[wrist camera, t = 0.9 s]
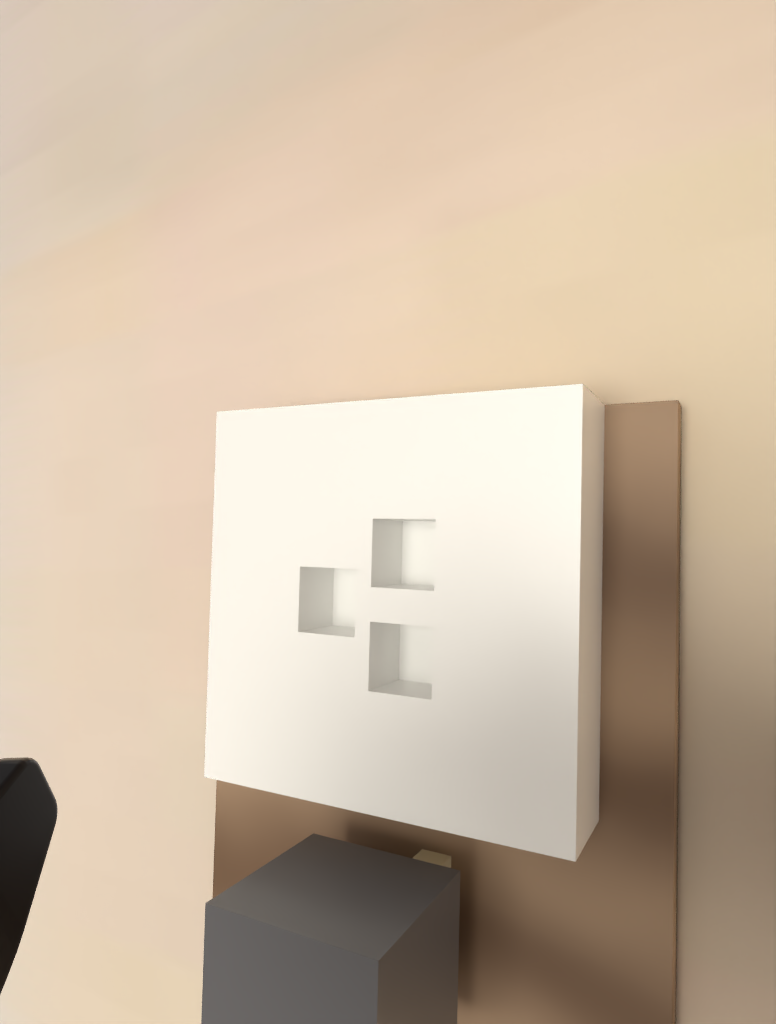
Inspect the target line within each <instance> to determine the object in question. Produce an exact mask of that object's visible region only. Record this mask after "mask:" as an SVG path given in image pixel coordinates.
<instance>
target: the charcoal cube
mask: <svg viewBox="0 0 776 1024" xmlns="http://www.w3.org/2000/svg"><path fill="white" fill-rule="evenodd" d="M459 916H460V870H456V869H453V868H451V856H449V855H445V854H441V853H437V852H432V851H428V850H424V849H422V850H421V851H420V852H419V853H417V854H416V855H415V856H414V857H413V858H409V857H405V856H401V855H397V854H393V853H389V852H385V851H381V850H377V849H373V848H369V847H365V846H361V845H357V844H353V843H350V842H346V841H342V840H338V839H334V838H330V837H326V836H322V835H318V834H314V833H313V834H312V835H310V836H308V837H307V838H305V839H304V840H302V841H301V842H299V843H298V844H296V845H295V846H293V847H292V848H290V849H288V850H287V851H285V852H284V853H282V854H281V855H279V856H278V857H276V858H275V859H273V860H271V861H270V862H268V863H267V864H265V865H264V866H262V867H261V868H259V869H258V870H256V871H255V872H253V873H251V874H250V875H248V876H247V877H245V878H244V879H242V880H241V881H239V882H238V883H236V884H234V885H233V886H231V887H230V888H228V889H227V890H225V891H224V892H222V893H221V894H219V895H218V896H216V897H214V898H213V899H211V900H210V901H208V902H207V903H206V907H205V936H204V965H203V994H202V1023H201V1024H457V1010H458V963H459Z"/></svg>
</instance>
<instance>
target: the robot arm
mask: <svg viewBox="0 0 776 1024" xmlns="http://www.w3.org/2000/svg"><path fill="white" fill-rule="evenodd" d="M56 819H57V803H56V799H55V797H54V795H53V793H52V791H51V789H50V787H49V785H48V782H47V780H46V778H45V776H44V774H43V772H42V770H41V768H40V766H39V764H38V763H37V762H36V761H35V760H34V759H32V758H4V759H0V994H1V991H2V989H3V986H4V984H5V981H6V979H7V976H8V974H9V971H10V968H11V966H12V963H13V960H14V958H15V955H16V953H17V950H18V947H19V944H20V941H21V938H22V934H23V931H24V928H25V925H26V922H27V918H28V915H29V911H30V908H31V905H32V901H33V898H34V895H35V891H36V888H37V884H38V881H39V878H40V874H41V871H42V868H43V864H44V861H45V858H46V854H47V851H48V847H49V844H50V841H51V837H52V834H53V831H54V827H55V824H56Z"/></svg>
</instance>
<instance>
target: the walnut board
mask: <svg viewBox="0 0 776 1024" xmlns="http://www.w3.org/2000/svg"><path fill="white" fill-rule="evenodd" d="M680 486H681V405H680V403H679V401H678V400H676V401H660V402H644V403H627V404H611V405H605V415H604V487H603V559H602V631H601V703H600V775H599V821H598V823H597V825H596V827H595V828H594V830H593V832H592V834H591V836H590V837H589V839H588V841H587V843H586V844H585V846H584V848H583V850H582V851H581V853H580V855H579V857H578V859H577V860H576V862H574V861H570V860H566V859H561V858H557V857H552V856H548V855H544V854H539V853H535V852H531V851H526V850H522V849H517V848H513V847H509V846H504V845H500V844H495V843H491V842H487V841H482V840H478V839H474V838H469V837H465V836H460V835H456V834H452V833H447V832H443V831H439V830H434V829H430V828H425V827H421V826H417V825H412V824H408V823H403V822H399V821H395V820H390V819H386V818H382V817H377V816H373V815H368V814H364V813H360V812H355V811H351V810H347V809H342V808H338V807H333V806H329V805H325V804H320V803H316V802H311V801H307V800H303V799H298V798H294V797H290V796H285V795H281V794H276V793H272V792H268V791H263V790H259V789H255V788H250V787H246V786H241V785H237V784H233V783H228V782H224V781H220V780H217V789H216V818H215V847H214V876H213V898H214V897H216V896H218V895H219V894H221V893H222V892H224V891H225V890H227V889H228V888H230V887H231V886H233V885H234V884H236V883H238V882H239V881H241V880H242V879H244V878H245V877H247V876H248V875H250V874H251V873H253V872H255V871H256V870H258V869H259V868H261V867H262V866H264V865H265V864H267V863H268V862H270V861H271V860H273V859H275V858H276V857H278V856H279V855H281V854H282V853H284V852H285V851H287V850H288V849H290V848H292V847H293V846H295V845H296V844H298V843H299V842H301V841H302V840H304V839H305V838H307V837H308V836H310V835H312V834H313V833H314V834H318V835H322V836H326V837H330V838H334V839H338V840H342V841H346V842H350V843H353V844H357V845H361V846H365V847H369V848H373V849H377V850H381V851H385V852H389V853H393V854H397V855H401V856H405V857H409V858H413V857H414V856H415V855H416V854H417V853H419V852H420V851H421V850H422V849H424V850H428V851H432V852H437V853H441V854H445V855H449V856H451V868H453V869H456V870H460V916H459V963H458V1010H457V1024H675V1000H676V897H677V794H678V691H679V589H680Z"/></svg>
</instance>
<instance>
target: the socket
mask: <svg viewBox="0 0 776 1024" xmlns="http://www.w3.org/2000/svg"><path fill="white" fill-rule="evenodd" d="M604 415H605V405H604V404H603V403H602V402H601V401H600V400H599V399H598V398H597V397H596V396H595V395H594V394H593V393H592V392H591V391H590V390H589V389H588V388H587V387H586V386H585V385H584V384H574V385H561V386H548V387H535V388H521V389H508V390H495V391H482V392H469V393H456V394H443V395H430V396H417V397H404V398H390V399H377V400H364V401H351V402H338V403H325V404H312V405H299V406H286V407H272V408H259V409H246V410H233V411H220V412H217V426H216V454H215V483H214V512H213V540H212V569H211V598H210V626H209V655H208V684H207V712H206V741H205V770H204V777H206V778H211V779H215V780H220V781H224V782H228V783H233V784H237V785H241V786H246V787H250V788H255V789H259V790H263V791H268V792H272V793H276V794H281V795H285V796H290V797H294V798H298V799H303V800H307V801H311V802H316V803H320V804H325V805H329V806H333V807H338V808H342V809H347V810H351V811H355V812H360V813H364V814H368V815H373V816H377V817H382V818H386V819H390V820H395V821H399V822H403V823H408V824H412V825H417V826H421V827H425V828H430V829H434V830H439V831H443V832H447V833H452V834H456V835H460V836H465V837H469V838H474V839H478V840H482V841H487V842H491V843H495V844H500V845H504V846H509V847H513V848H517V849H522V850H526V851H531V852H535V853H539V854H544V855H548V856H552V857H557V858H561V859H566V860H570V861H574V862H576V860H577V859H578V857H579V855H580V853H581V851H582V850H583V848H584V846H585V844H586V843H587V841H588V839H589V837H590V836H591V834H592V832H593V830H594V828H595V827H596V825H597V823H598V821H599V775H600V703H601V631H602V559H603V487H604Z"/></svg>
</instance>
